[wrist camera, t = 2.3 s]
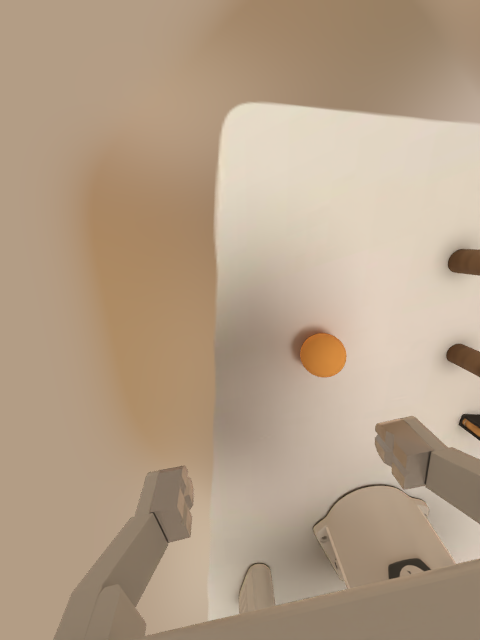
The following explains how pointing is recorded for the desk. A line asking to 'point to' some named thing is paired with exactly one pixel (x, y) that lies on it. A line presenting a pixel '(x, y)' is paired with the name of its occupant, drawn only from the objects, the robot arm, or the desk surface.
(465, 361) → the post
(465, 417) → the ammunition clip
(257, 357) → the desk surface
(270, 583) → the photo printer
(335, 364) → the ball
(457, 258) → the post
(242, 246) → the desk surface
